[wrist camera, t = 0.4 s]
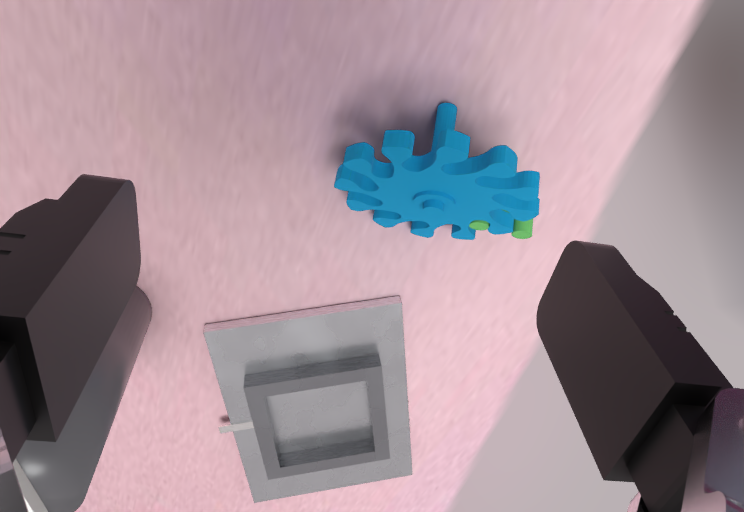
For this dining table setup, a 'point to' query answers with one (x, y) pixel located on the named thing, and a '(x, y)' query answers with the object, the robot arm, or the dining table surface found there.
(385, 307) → the grey peg base plate
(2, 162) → the dining table surface
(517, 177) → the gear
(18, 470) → the grey peg
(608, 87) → the dining table surface
